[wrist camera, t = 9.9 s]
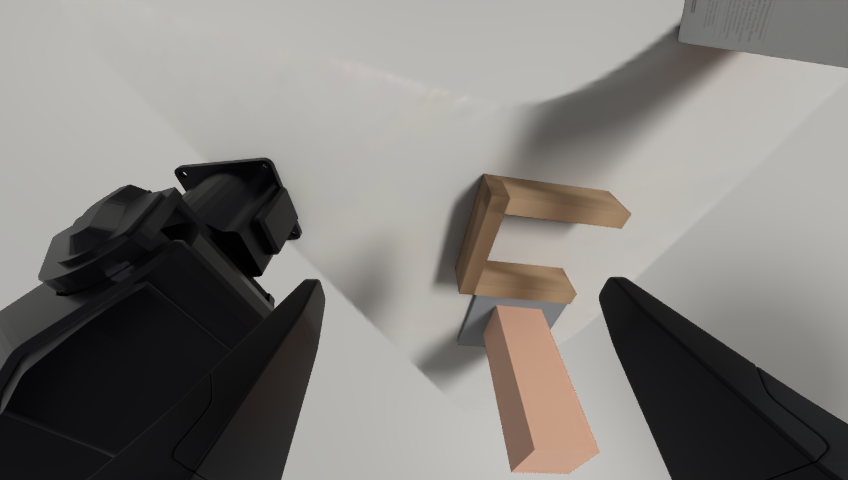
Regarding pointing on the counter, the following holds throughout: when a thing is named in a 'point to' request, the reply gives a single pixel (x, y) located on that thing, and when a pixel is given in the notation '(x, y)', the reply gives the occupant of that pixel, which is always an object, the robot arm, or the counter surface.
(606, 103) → the counter surface
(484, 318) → the mat
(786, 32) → the skincare box
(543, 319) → the block
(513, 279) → the u-shaped frame
